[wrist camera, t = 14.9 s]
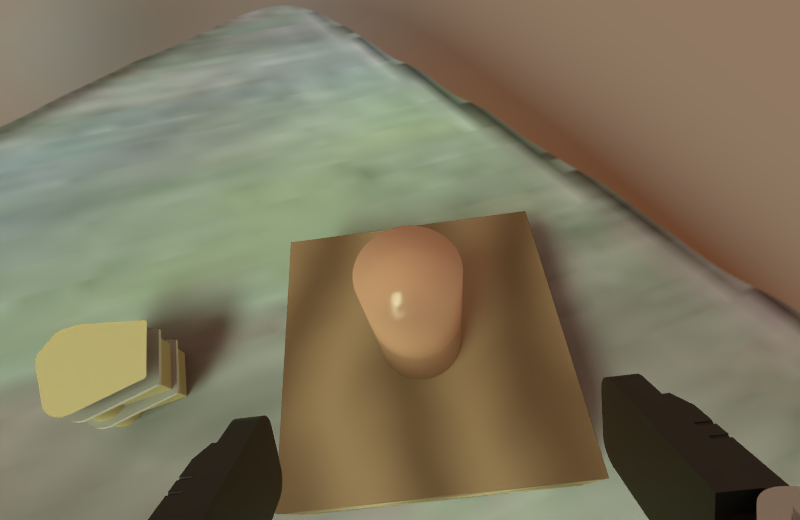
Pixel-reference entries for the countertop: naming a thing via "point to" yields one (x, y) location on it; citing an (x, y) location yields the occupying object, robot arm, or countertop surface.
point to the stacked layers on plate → (109, 373)
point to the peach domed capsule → (412, 298)
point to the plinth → (430, 385)
